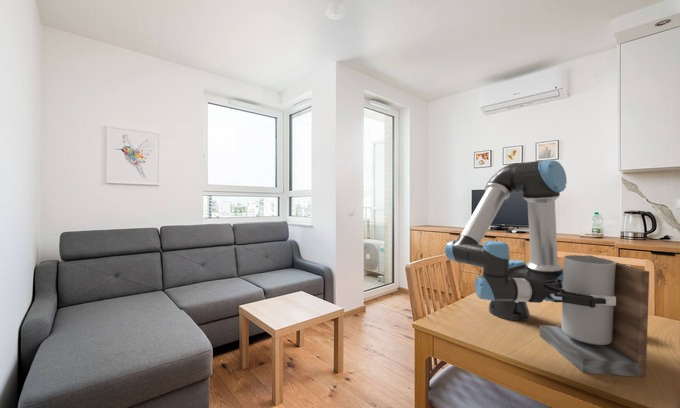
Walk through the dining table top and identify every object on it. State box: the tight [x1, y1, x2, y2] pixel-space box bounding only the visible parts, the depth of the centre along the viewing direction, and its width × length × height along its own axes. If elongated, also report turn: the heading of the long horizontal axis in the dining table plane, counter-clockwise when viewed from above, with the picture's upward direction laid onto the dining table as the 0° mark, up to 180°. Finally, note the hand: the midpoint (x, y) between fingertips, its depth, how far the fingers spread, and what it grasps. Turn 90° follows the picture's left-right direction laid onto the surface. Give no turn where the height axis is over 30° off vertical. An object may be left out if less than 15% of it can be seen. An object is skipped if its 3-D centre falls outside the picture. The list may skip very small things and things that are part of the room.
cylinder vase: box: [561, 254, 617, 345], centre depth 93 cm, size 12×12×25 cm
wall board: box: [539, 254, 650, 378], centre depth 93 cm, size 16×22×30 cm
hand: (598, 293), depth 92 cm, fingers closed on cylinder vase, 12 cm apart
